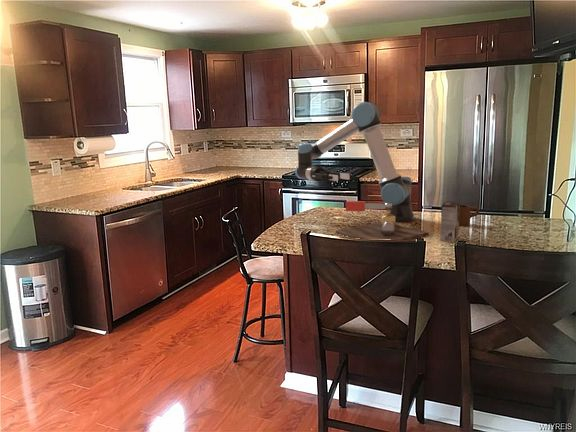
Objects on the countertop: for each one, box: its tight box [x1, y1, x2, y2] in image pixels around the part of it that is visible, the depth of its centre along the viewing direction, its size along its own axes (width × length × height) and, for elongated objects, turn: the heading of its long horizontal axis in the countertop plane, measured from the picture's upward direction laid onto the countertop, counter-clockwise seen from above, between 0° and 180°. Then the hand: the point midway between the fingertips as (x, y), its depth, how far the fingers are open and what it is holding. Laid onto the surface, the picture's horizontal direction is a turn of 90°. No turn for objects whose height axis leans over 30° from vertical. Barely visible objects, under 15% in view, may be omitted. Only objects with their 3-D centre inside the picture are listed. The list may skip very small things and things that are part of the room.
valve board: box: [335, 221, 430, 241], centre depth 219 cm, size 31×30×2 cm
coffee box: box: [439, 201, 461, 243], centre depth 206 cm, size 9×6×16 cm
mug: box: [459, 204, 480, 227], centre depth 232 cm, size 12×8×9 cm, turn 82°
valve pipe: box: [381, 209, 396, 236], centre depth 220 cm, size 23×6×10 cm, turn 167°
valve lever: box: [345, 200, 392, 212], centre depth 221 cm, size 22×3×4 cm, turn 77°
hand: (343, 177), depth 227 cm, fingers open, 6 cm apart
